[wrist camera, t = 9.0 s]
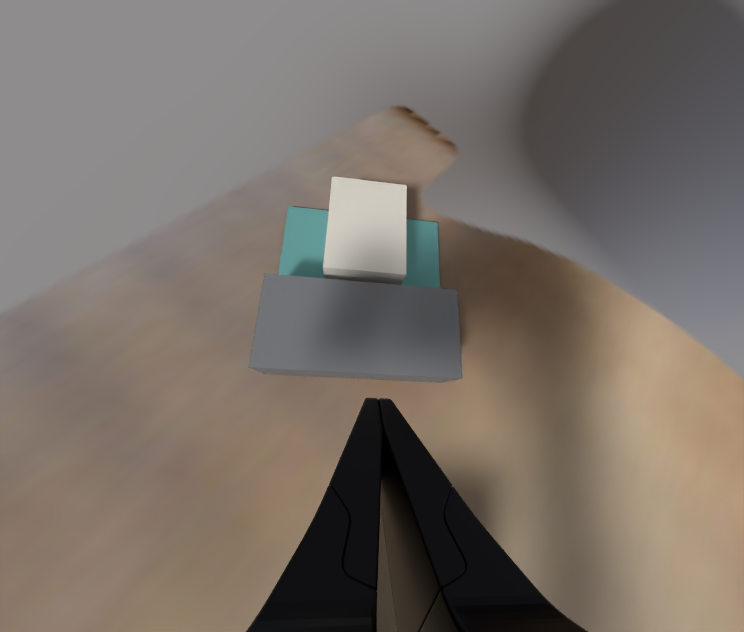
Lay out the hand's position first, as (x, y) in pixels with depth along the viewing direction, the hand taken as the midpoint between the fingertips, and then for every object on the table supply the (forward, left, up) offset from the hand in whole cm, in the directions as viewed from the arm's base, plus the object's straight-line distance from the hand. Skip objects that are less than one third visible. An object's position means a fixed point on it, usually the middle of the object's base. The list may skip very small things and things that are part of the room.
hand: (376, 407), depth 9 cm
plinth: (+4, -3, -13) cm, 14 cm away
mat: (+10, -8, -13) cm, 18 cm away
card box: (+7, -6, -10) cm, 14 cm away
